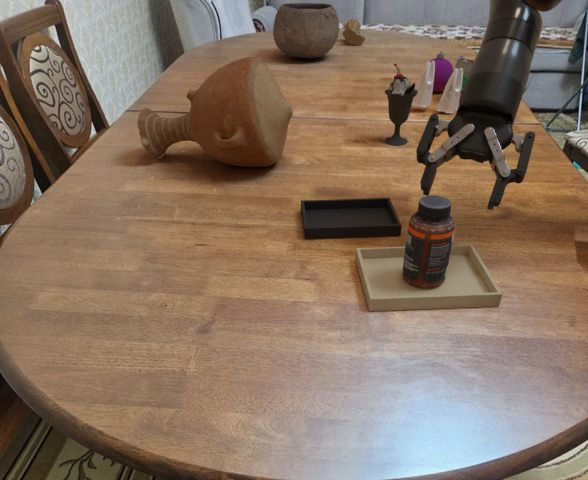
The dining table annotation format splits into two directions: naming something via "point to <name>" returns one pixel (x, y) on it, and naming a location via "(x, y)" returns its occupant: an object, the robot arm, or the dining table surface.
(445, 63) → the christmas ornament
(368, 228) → the charcoal tray
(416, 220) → the supplement bottle
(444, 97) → the shaker set
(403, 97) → the sundae
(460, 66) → the food container
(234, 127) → the jug
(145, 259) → the dining table surface
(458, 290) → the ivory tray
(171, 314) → the dining table surface
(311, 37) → the clay pot
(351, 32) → the cat figurine
